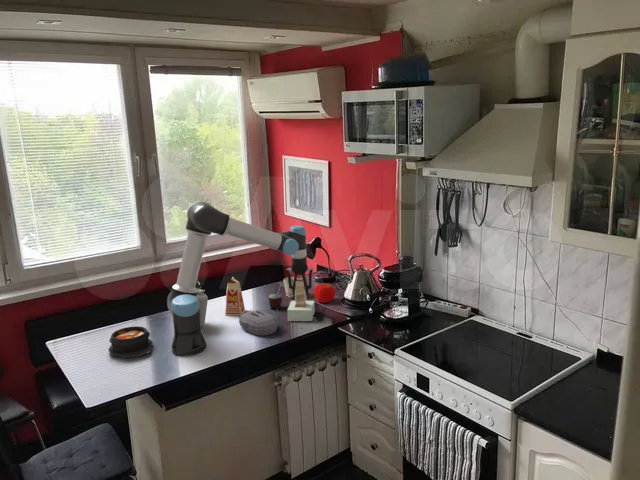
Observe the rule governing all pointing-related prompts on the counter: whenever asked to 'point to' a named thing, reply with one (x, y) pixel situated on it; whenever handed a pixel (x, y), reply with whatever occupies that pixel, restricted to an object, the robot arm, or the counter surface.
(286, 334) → the counter surface
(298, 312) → the socket block
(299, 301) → the peg
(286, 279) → the mug
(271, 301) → the mate gourd
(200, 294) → the jar
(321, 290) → the tomato
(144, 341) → the casserole
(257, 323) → the small grey backpack
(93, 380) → the counter surface
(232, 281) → the milk carton
